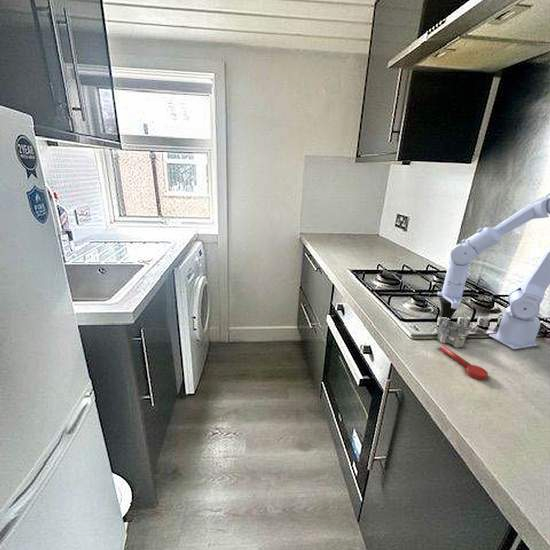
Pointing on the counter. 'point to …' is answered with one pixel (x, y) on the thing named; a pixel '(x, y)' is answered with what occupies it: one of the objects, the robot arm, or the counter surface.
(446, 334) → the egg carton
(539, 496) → the counter surface
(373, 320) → the counter surface
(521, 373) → the counter surface
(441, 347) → the spoon
